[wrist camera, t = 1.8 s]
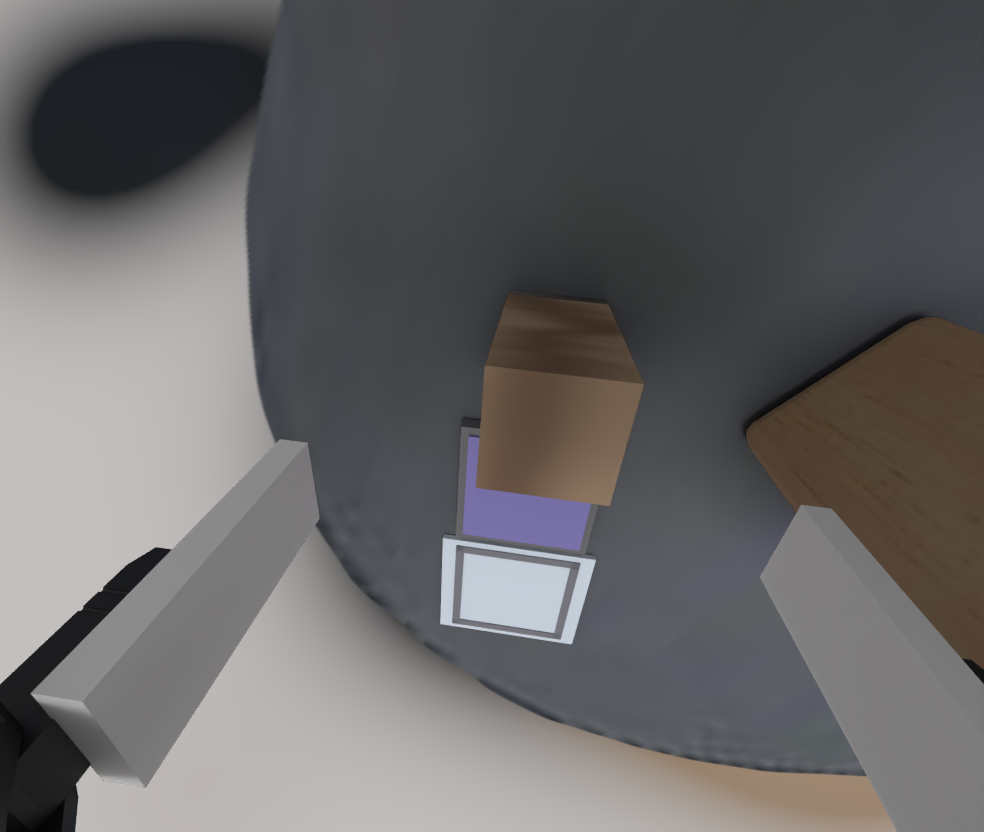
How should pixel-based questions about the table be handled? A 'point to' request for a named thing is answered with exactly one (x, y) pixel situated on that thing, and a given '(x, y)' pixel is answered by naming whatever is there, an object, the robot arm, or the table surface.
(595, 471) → the stamp
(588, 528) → the ink pad
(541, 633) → the print card
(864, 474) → the wooden block
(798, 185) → the table surface
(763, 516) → the table surface
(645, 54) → the table surface
